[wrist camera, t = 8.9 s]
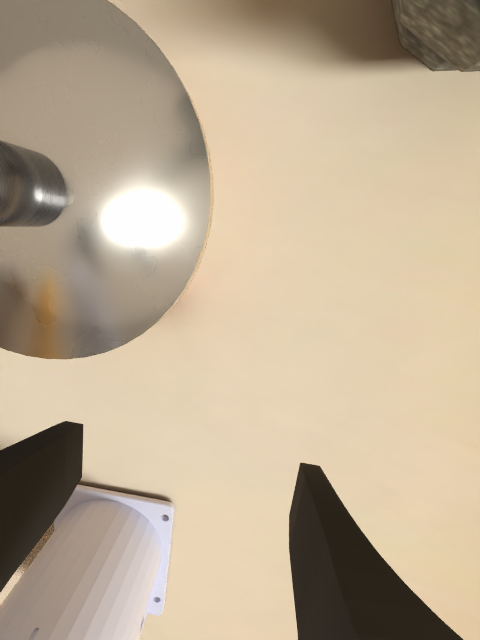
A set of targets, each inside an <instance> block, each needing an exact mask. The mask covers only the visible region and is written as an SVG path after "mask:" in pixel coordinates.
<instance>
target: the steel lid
mask: <svg viewBox="0 0 480 640" xmlns="http://www.w3.org/2000/svg"><path fill="white" fill-rule="evenodd" d="M212 210H213V174H212V167H211V160H210V153H209V148H208V145H207V141H206V137H205V134H204V130H203V126H202V124H201V121H200V119H199V116H198V114H197V111H196V109H195V106H194V104H193V101H192V99H191V98H190V96H189V94H188V92H187V90H186V89H185V87H184V85H183V83H182V81H181V80H180V78H179V76H178V74H177V73H176V71H175V70H174V68H173V67H172V65H171V64H170V62H169V61H168V60H167V58H166V57H165V56H164V54H163V53H162V51H161V50H160V49H159V47H158V46H157V45H156V43H155V42H154V41H153V40H152V39H151V38H150V37H149V36H148V35H147V34H146V33H145V32H144V31H143V30H142V28H141V27H140V26H139V25H138V24H137V23H136V22H135V21H133V20H132V19H131V18H130V17H128V16H127V15H126V14H125V13H124V12H122V11H121V10H120V9H119V8H117V7H116V6H115V5H114V4H112V3H110V2H109V1H107V0H0V347H1V348H3V349H5V350H8V351H12V352H16V353H19V354H23V355H26V356H32V357H39V358H45V359H73V358H82V357H88V356H92V355H96V354H101V353H105V352H107V351H110V350H112V349H115V348H117V347H120V346H122V345H124V344H126V343H128V342H129V341H131V340H133V339H135V338H136V337H138V336H140V335H141V334H143V333H144V332H145V331H146V330H148V329H149V328H150V327H151V326H153V325H154V324H155V323H157V322H158V321H159V320H160V319H162V318H163V317H164V316H165V315H166V314H167V312H168V311H169V310H170V309H171V308H172V307H173V306H174V305H175V304H176V303H177V302H178V300H179V299H180V297H181V296H182V295H183V293H184V292H185V290H186V289H187V288H188V286H189V284H190V282H191V281H192V279H193V277H194V275H195V273H196V271H197V269H198V267H199V264H200V262H201V259H202V256H203V254H204V251H205V248H206V245H207V240H208V236H209V231H210V227H211V220H212Z"/></svg>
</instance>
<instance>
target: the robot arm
mask: <svg viewBox="0 0 480 640" xmlns="http://www.w3.org/2000/svg"><path fill="white" fill-rule="evenodd" d="M82 454H83V424H79V423H73V422H68V421H65V422H62V423H59V424H57V425H55V426H52V427H50V428H48V429H46V430H44V431H42V432H39V433H37V434H35V435H33V436H31V437H29V438H27V439H24V440H22V441H20V442H18V443H16V444H14V445H11V446H9V447H7V448H5V449H3V450H0V592H1V591H2V589H3V588H4V587H5V585H6V584H7V582H8V581H9V580H10V578H11V577H12V575H13V574H14V573H15V571H16V570H17V569H18V567H19V566H20V565H21V563H22V562H23V561H24V559H25V558H26V557H27V556H28V554H29V553H30V552H31V550H32V549H33V548H34V546H35V545H36V544H37V542H38V541H39V540H40V538H41V537H42V536H43V535H44V533H45V532H46V531H47V529H48V528H49V527H50V525H51V524H52V523H53V521H54V532H53V534H52V535H51V536H50V538H49V539H48V541H47V542H46V543H45V545H44V546H43V548H42V549H41V550H40V552H39V553H38V554H37V556H36V557H35V559H34V560H33V561H32V563H31V564H30V565H29V567H28V568H27V570H26V571H25V572H24V574H23V575H22V576H21V578H20V579H19V581H18V582H17V583H16V585H15V586H14V588H13V589H12V590H11V592H10V593H9V594H8V596H7V597H6V599H5V600H4V601H3V603H2V604H1V605H0V640H139V638H140V635H141V632H142V629H143V626H144V623H145V620H146V617H147V614H152V615H160V614H162V612H163V609H164V605H165V595H166V586H167V576H168V567H169V558H170V548H171V539H172V529H173V520H174V511H175V508H174V505H173V504H172V503H171V502H168V501H163V500H158V499H153V498H147V497H142V496H137V495H131V494H126V493H120V492H115V491H110V490H104V489H99V488H94V487H88V486H83V485H78V483H79V481H80V479H81V478H82ZM164 515H167V516H168V517H166V516H164ZM289 552H290V562H291V572H292V582H293V591H294V601H295V611H296V620H297V630H298V640H463V639H462V638H461V637H460V636H459V635H457V634H456V633H455V632H454V631H453V630H452V629H451V628H450V627H449V626H448V625H446V624H445V623H444V622H443V621H442V620H441V619H440V618H439V617H438V616H437V615H436V614H435V613H434V612H433V611H432V610H431V609H430V608H429V607H428V606H427V605H426V604H425V603H424V602H423V601H422V600H421V599H420V598H419V597H418V596H417V595H416V594H415V593H414V592H413V591H412V590H411V589H410V588H409V587H408V586H407V585H406V584H405V583H404V582H403V581H402V580H401V578H400V577H399V576H398V575H397V574H396V573H395V572H394V570H393V569H392V568H391V567H390V566H389V565H388V564H387V562H386V561H385V560H384V559H383V558H382V557H381V555H380V554H379V553H378V552H377V551H376V549H375V548H374V547H373V546H372V544H371V543H370V542H369V540H368V539H367V538H366V536H365V535H364V534H363V532H362V531H361V530H360V528H359V527H358V525H357V524H356V522H355V521H354V520H353V518H352V517H351V515H350V514H349V512H348V511H347V509H346V508H345V506H344V505H343V503H342V502H341V500H340V498H339V497H338V495H337V494H336V492H335V490H334V489H333V487H332V485H331V484H330V482H329V480H328V479H327V477H326V475H325V474H324V472H323V470H322V469H321V467H320V466H317V465H311V464H306V463H300V467H299V472H298V476H297V481H296V486H295V491H294V495H293V500H292V505H291V510H290V515H289Z"/></svg>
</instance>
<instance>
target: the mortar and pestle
mask: <svg viewBox="0 0 480 640" xmlns="http://www.w3.org/2000/svg"><path fill="white" fill-rule="evenodd" d="M392 6H393V11H394V16H395V21H396V26H397V31H398V36H399V41H400V44H401V45H402V46H403V47H405V48H406V49H407V50H408V51H409V52H411V53H412V54H413V55H414V56H415V57H417V58H418V59H419V60H420V61H421V62H423V63H424V64H425V65H426V66H427V67H429V68H430V69H431V70H432V71H450V70H459V71H461V72H471V71H480V0H392Z"/></svg>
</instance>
